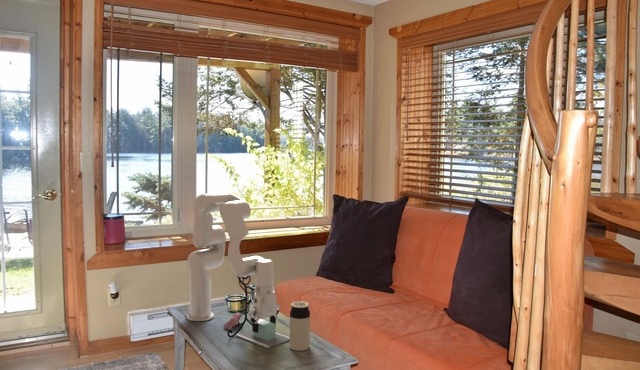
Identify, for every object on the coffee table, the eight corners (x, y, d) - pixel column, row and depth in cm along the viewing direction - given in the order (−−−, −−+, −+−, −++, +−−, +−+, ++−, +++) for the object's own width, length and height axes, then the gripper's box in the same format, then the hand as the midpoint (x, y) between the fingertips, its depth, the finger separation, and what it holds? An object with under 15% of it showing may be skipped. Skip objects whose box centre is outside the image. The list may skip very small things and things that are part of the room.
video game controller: (231, 333, 243) (238, 319, 242) (222, 327, 244) (229, 314, 243) (238, 325, 253) (245, 312, 252) (230, 320, 254) (236, 307, 252)
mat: (235, 336, 235) (235, 334, 235) (260, 328, 245) (260, 326, 245) (267, 348, 222) (267, 347, 222) (292, 339, 232) (292, 338, 232)
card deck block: (267, 340, 229) (267, 326, 228) (252, 335, 235) (253, 321, 234) (275, 338, 232) (275, 323, 232) (260, 332, 238) (261, 318, 238)
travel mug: (294, 352, 218) (295, 307, 217) (286, 345, 225) (286, 302, 224) (312, 349, 222) (313, 305, 220) (304, 342, 229) (304, 300, 227)
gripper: (254, 295, 223) (254, 336, 224) (285, 287, 236) (285, 326, 237) (242, 291, 228) (242, 332, 229) (273, 283, 241) (273, 322, 242)
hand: (264, 329), depth 233 cm, fingers open, 9 cm apart
